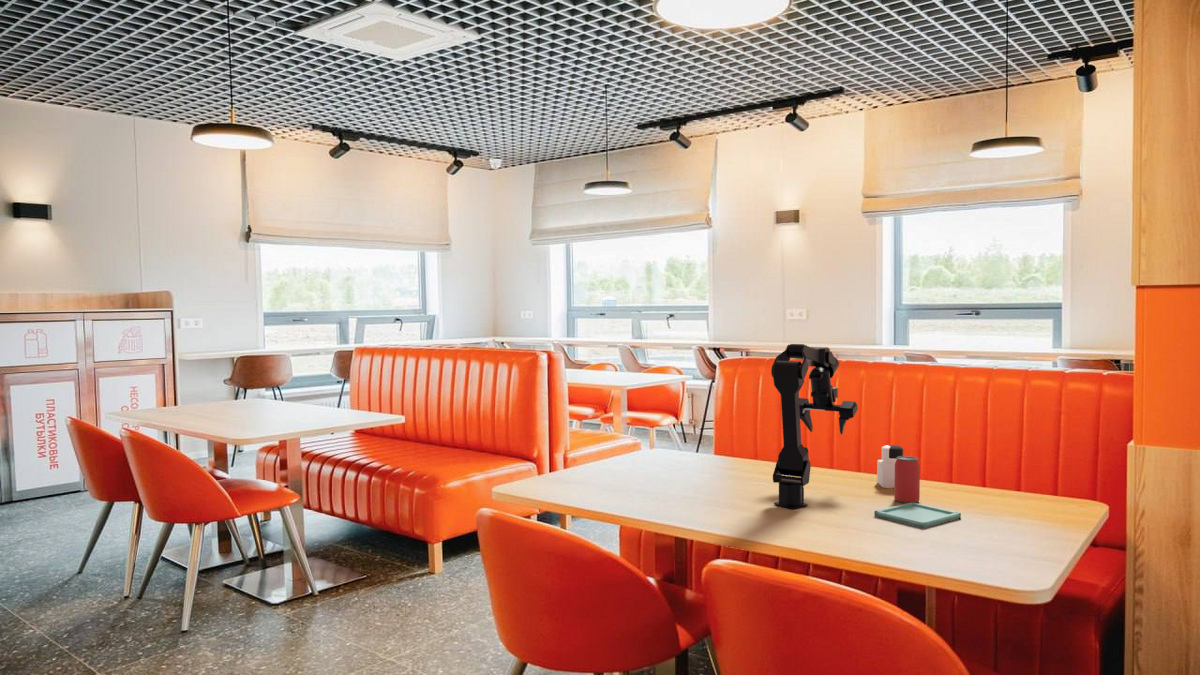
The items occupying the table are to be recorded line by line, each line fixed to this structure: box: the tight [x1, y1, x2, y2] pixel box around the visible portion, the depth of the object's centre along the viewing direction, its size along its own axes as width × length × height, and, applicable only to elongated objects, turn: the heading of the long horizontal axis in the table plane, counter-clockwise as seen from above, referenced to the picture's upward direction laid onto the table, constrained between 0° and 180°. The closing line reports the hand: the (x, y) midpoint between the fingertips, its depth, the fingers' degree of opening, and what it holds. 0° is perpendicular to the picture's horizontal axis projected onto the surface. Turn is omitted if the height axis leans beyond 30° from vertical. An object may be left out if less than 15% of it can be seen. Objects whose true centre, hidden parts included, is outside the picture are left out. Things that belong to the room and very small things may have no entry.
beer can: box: [893, 455, 921, 504], centre depth 226 cm, size 7×7×12 cm
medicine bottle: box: [876, 444, 904, 489], centre depth 245 cm, size 7×7×12 cm
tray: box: [873, 502, 962, 529], centre depth 209 cm, size 16×14×1 cm
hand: (826, 432), depth 247 cm, fingers open, 9 cm apart
